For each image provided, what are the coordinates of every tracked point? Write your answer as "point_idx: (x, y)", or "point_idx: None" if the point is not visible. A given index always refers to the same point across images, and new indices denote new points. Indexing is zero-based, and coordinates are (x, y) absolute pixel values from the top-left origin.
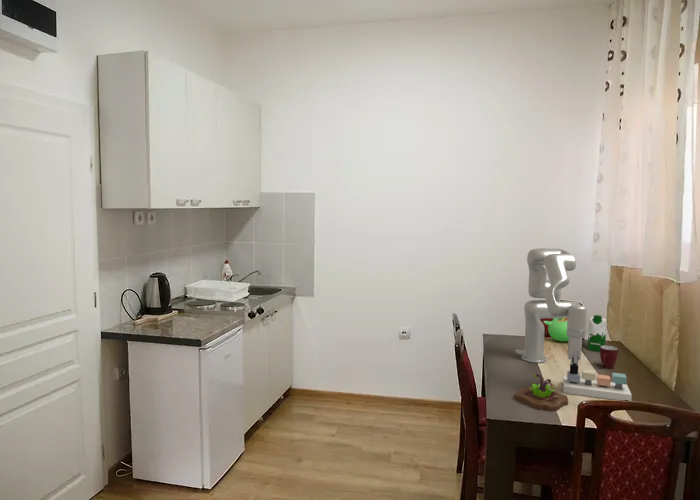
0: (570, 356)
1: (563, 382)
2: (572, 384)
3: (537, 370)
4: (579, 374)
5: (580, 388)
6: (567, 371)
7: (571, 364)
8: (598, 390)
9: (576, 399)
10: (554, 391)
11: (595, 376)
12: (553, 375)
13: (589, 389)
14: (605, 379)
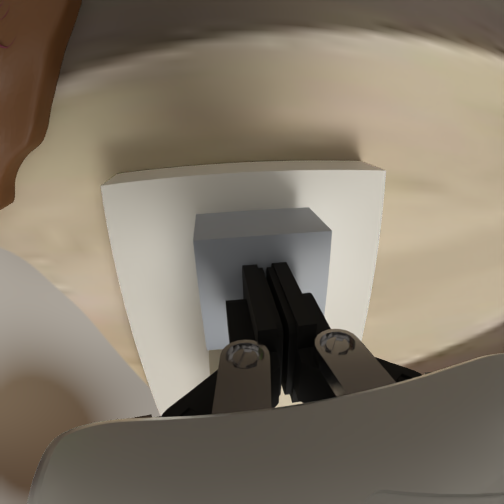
0: (35, 499)
1: (237, 170)
2: (184, 248)
3: (497, 40)
4: None
5: (124, 303)
6: (307, 233)
7: (221, 355)
8: (155, 390)
9: (49, 257)
10: (17, 122)
11: None
12: (462, 116)
13: (139, 352)
14: None
